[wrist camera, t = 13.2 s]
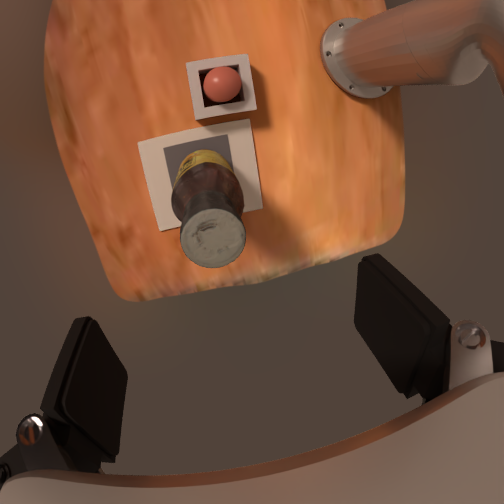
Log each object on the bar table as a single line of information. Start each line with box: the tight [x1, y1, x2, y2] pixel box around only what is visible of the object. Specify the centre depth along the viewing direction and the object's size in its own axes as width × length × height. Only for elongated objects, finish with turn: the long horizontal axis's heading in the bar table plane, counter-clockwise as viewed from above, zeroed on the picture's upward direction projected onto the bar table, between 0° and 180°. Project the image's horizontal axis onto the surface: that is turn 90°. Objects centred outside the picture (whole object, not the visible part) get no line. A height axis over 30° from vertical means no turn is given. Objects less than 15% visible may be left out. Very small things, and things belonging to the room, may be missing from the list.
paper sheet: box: [138, 119, 263, 231], centre depth 34 cm, size 14×12×1 cm
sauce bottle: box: [171, 149, 246, 268], centre depth 26 cm, size 7×6×20 cm
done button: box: [203, 66, 242, 103], centre depth 28 cm, size 4×4×3 cm
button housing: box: [186, 54, 257, 120], centre depth 29 cm, size 7×7×3 cm
